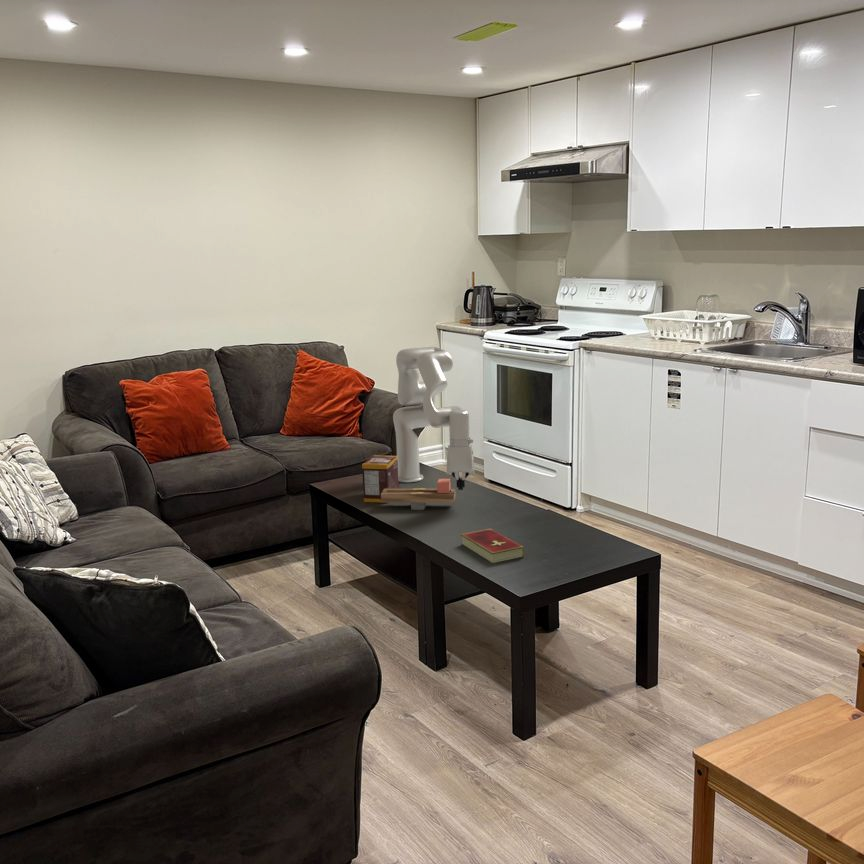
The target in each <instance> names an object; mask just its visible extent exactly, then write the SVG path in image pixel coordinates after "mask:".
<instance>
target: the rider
mask: <svg viewBox="0 0 864 864" xmlns="http://www.w3.org/2000/svg"><path fill="white" fill-rule="evenodd" d="M451 487H452V486H451V478H438V479H437V484H436V489H437V493H449V492H450V489H452V488H451Z"/></svg>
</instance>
